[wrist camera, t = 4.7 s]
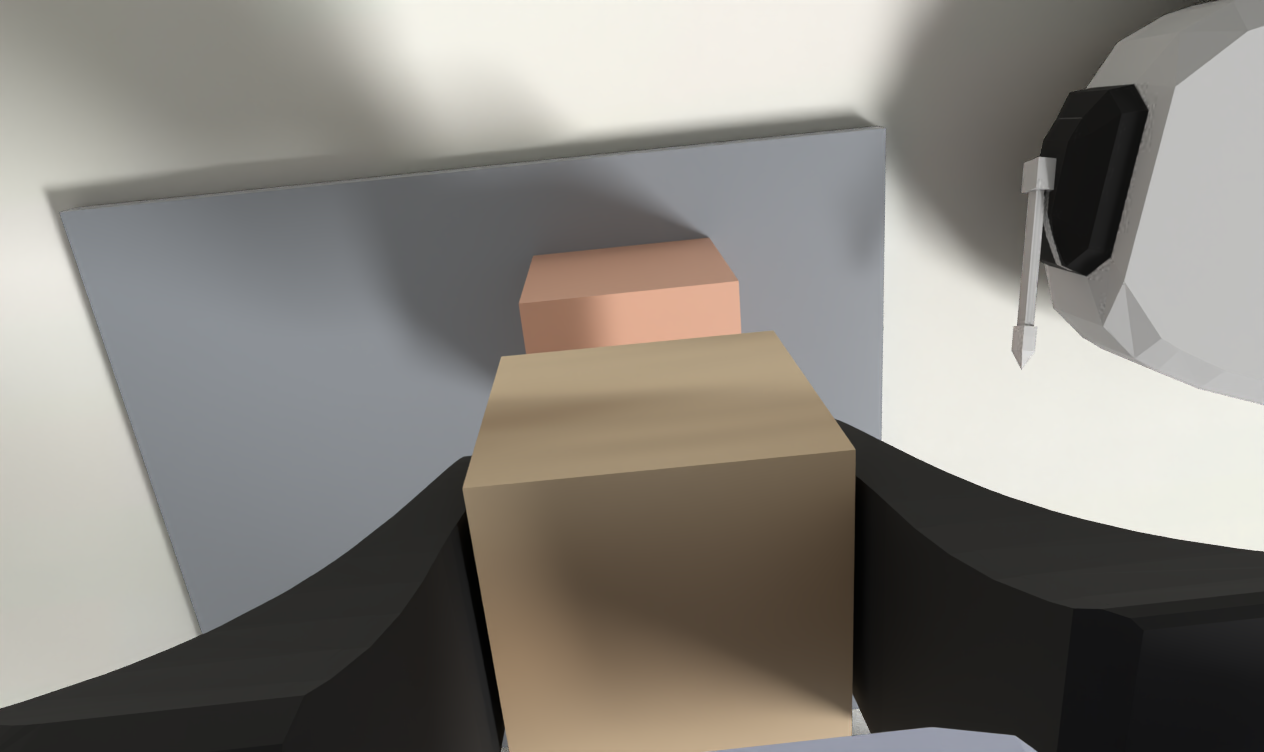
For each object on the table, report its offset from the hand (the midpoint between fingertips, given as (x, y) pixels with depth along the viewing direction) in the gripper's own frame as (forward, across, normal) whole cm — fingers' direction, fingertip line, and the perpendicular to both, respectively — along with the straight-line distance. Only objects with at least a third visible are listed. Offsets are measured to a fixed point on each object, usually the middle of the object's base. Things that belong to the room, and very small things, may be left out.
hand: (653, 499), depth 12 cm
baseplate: (+9, +3, +4) cm, 10 cm away
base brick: (+8, 0, 0) cm, 8 cm away
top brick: (+1, 0, 0) cm, 1 cm away
